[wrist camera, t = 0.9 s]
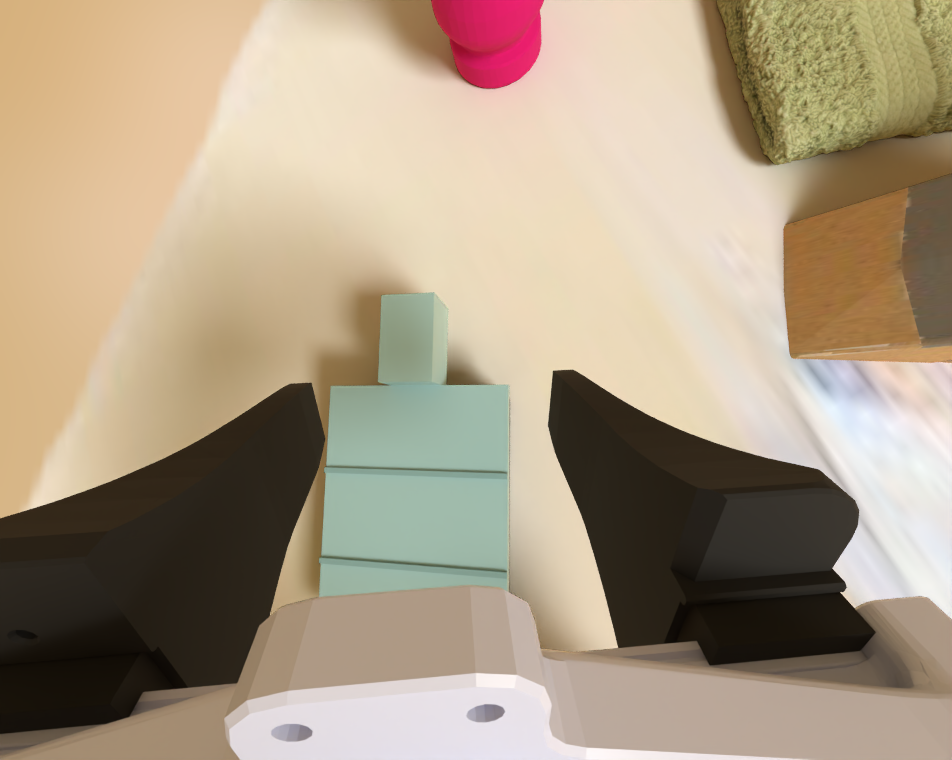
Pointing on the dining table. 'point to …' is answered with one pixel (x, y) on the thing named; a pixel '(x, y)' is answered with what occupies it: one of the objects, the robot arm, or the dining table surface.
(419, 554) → the mint green stepped piece
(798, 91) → the washcloth
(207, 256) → the dining table surface
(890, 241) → the sandwich container
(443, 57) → the dining table surface
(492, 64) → the pepper mill
